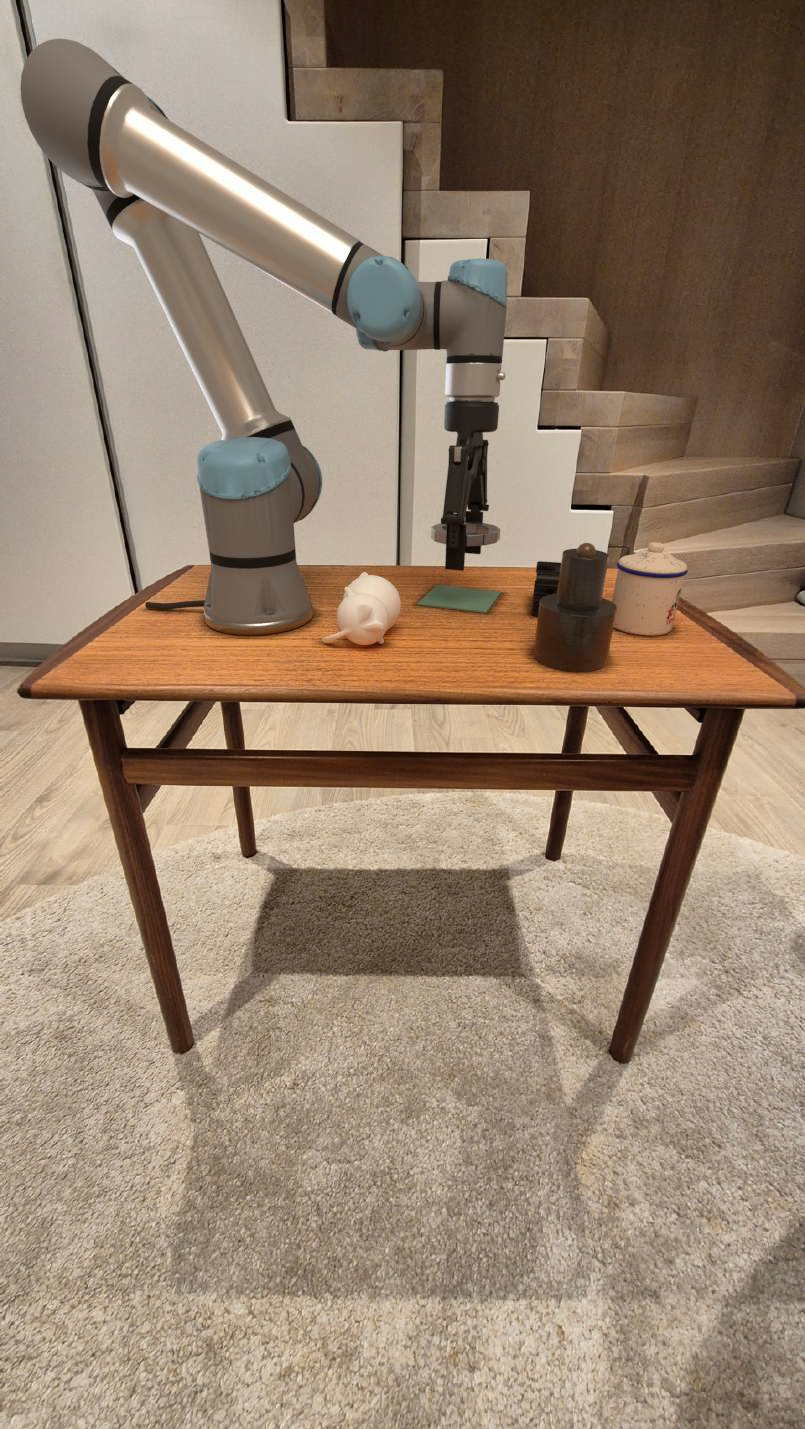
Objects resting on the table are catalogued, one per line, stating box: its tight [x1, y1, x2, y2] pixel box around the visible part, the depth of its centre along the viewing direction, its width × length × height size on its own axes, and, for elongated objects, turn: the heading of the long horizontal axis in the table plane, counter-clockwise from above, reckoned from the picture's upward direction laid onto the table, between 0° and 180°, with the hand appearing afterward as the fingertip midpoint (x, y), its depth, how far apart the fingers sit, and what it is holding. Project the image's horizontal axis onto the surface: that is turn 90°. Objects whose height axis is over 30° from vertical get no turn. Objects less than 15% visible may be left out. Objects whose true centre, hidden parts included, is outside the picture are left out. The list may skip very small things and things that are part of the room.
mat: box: [416, 584, 502, 614], centre depth 96 cm, size 11×11×1 cm
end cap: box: [531, 560, 561, 618], centre depth 91 cm, size 10×7×7 cm
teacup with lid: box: [611, 541, 689, 637], centre depth 84 cm, size 12×9×12 cm
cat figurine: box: [321, 571, 402, 646], centre depth 79 cm, size 9×11×12 cm
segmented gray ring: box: [430, 522, 501, 547], centre depth 91 cm, size 10×10×2 cm
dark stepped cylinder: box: [532, 542, 617, 673], centre depth 72 cm, size 9×9×14 cm
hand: (463, 561), depth 93 cm, fingers closed on segmented gray ring, 10 cm apart
